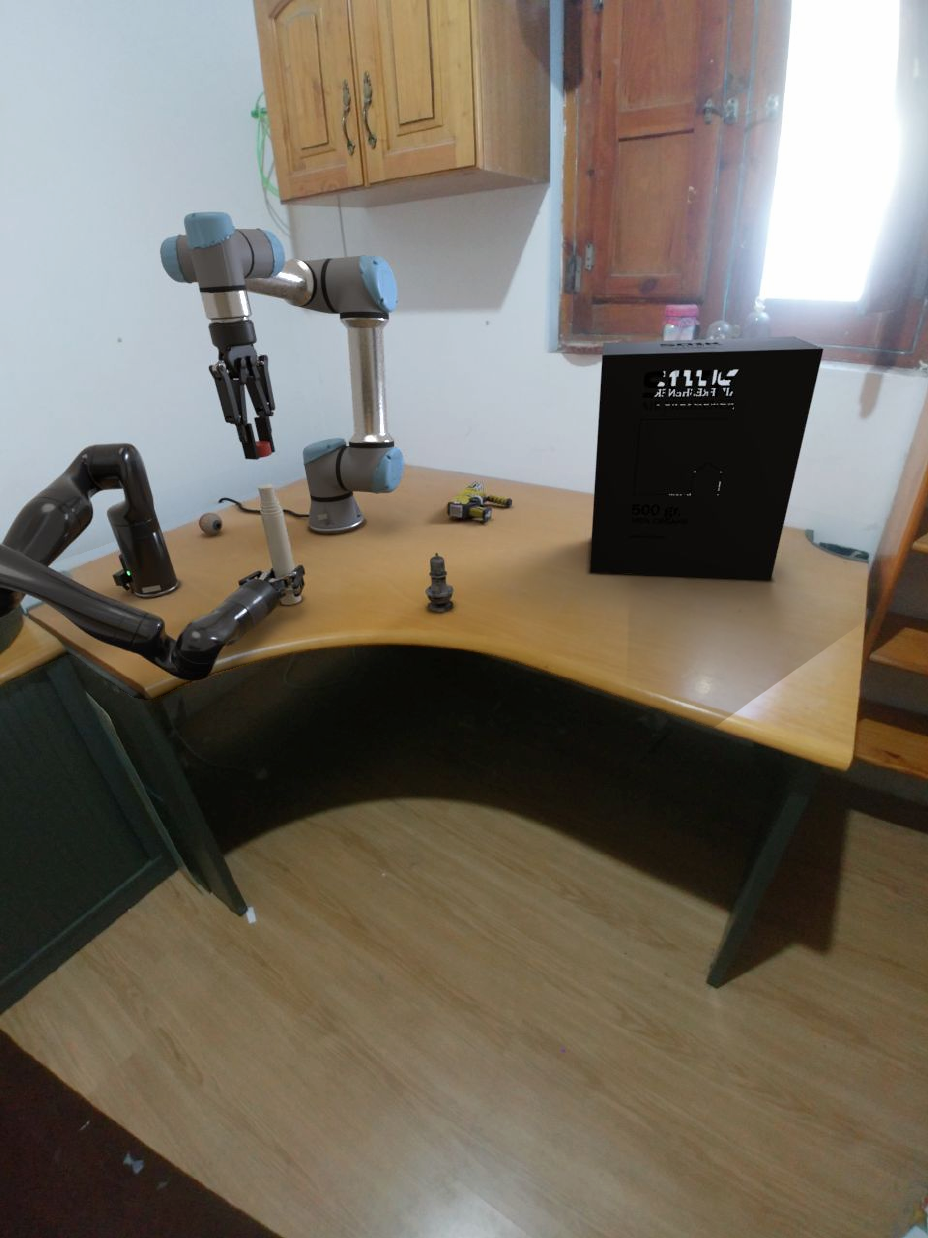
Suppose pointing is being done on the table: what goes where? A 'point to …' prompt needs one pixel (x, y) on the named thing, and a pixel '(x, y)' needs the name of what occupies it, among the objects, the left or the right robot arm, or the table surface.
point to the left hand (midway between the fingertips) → (291, 568)
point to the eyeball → (210, 523)
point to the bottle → (277, 536)
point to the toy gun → (474, 503)
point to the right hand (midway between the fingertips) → (260, 454)
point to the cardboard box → (698, 455)
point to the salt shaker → (439, 586)
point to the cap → (263, 448)
